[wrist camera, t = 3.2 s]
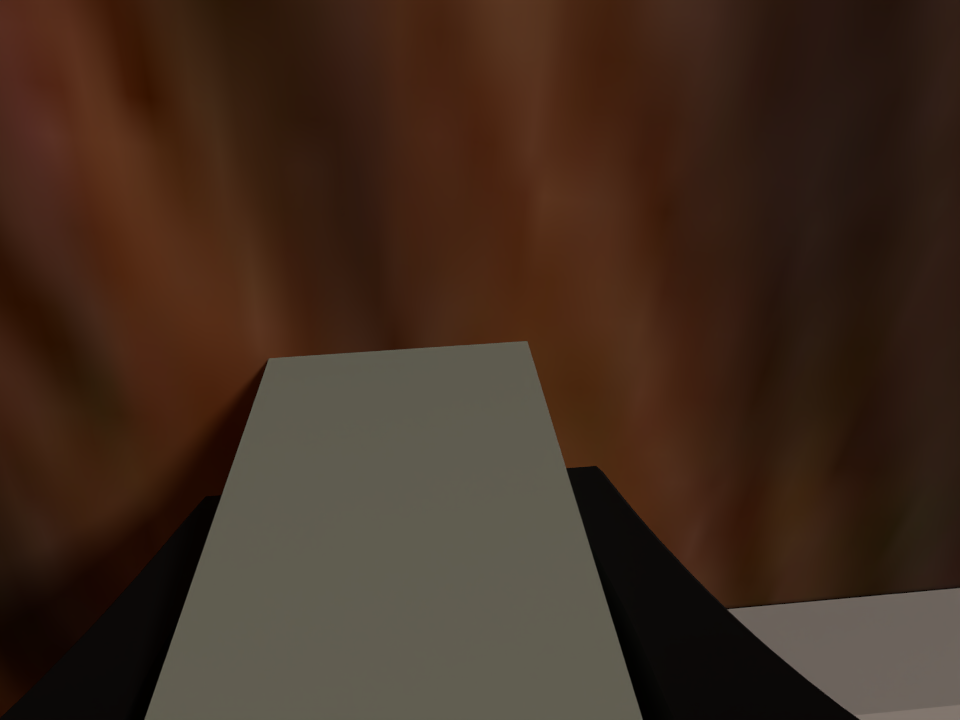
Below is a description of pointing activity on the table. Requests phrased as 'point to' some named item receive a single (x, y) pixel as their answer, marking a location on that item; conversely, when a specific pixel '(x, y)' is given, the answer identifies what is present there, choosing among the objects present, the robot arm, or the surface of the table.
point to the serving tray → (872, 650)
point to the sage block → (397, 554)
